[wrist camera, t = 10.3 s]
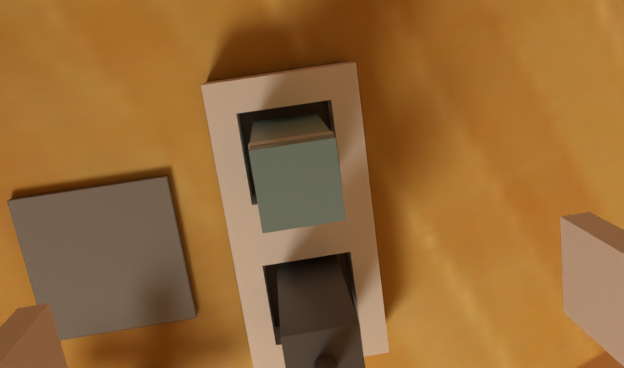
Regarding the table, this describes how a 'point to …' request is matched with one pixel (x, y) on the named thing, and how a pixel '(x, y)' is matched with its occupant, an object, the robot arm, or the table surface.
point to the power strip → (305, 240)
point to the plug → (295, 172)
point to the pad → (105, 256)
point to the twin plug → (317, 315)
